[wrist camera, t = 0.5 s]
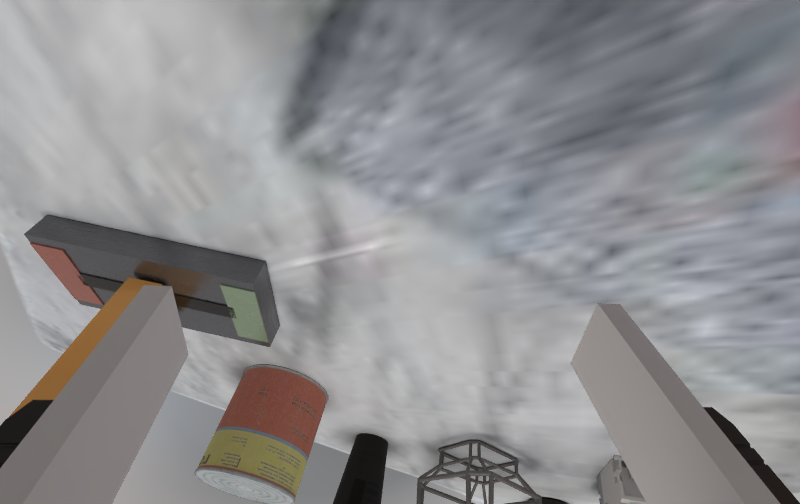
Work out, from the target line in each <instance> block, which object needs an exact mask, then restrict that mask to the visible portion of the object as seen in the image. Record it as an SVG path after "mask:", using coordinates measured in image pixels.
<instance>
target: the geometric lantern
mask: <svg viewBox="0 0 800 504" xmlns="http://www.w3.org/2000/svg"><path fill="white" fill-rule="evenodd" d="M472 443H478V456H472ZM466 444H469V457H468V458H464V459H460V460H459V459H456V458H454V457H452V456H450V455H448V454H445V453H443V452H442V451H444V450H448V449H452V448H455V447H459V446H462V445H466ZM480 445H482V446H484V447H487V448H489V449H491V450H493V451H495V452H497V453H499V454H501V455H503V456H505V457H507V458H509V459H511V460H514V462H511V463H507V464H502V465H497V464H495V463H492V462H490V461H488V460H486V459H483V458H481V452H480ZM439 452H440V457H439V465H437V466H436V467H434V468H433V469H431V470H429V471H428V472H426V473H425V474H423V475H422V476H420V477H419V478H418V483H417V504H423V501H424V500H423V499H424V490H425V491H428V492H431V493H433V494H436V495H439V496H441V497H444V498H446V499H449V500H452V501H454V502H457V503H460V504H474V503H471V499H472V496H473V494H474V491H475V489H476V487H477V484H478V483H479V484H482V489H483V497H484V504H487V500H486V492H485V485H487V484H489V504H493V498H494V483H495V482H500V481H501V482H503V483H505V484H507V485H509V486H511V487H513V488H515V489H518V490H520V491H522V492H524V493H526V494H528V495H530V496H532V498H533V499H534V500H531V501H523V502H514V503H506V504H542V497H541V496H540V495H538V494H536V493H535V492H534V491H533V490H532V488H531V487H530V486H529V485H528V484H527V483H526V482H525V481H524V480H523V478H522V477H521V476H520V475H519V474H518V461H517V459H516V458H514V457H512V456H510V455H508V454H506V453H504V452H502V451H499V450H497V449H495V448H493V447H491V446H489V445H487V444H485V443H483V442H481V441H479V440H469V441H465V442H462V443H458V444H455V445H451V446H448V447H444V448H441V449H439ZM444 456H445V457H448V458H450V459H452V460H454V461H452V462H447V463H443V461H444ZM473 459H478V460H479V462H480V463H481V465H482V466H483V468H478V467H474V466H472V465H471V463H472V461H473ZM465 461H469V463H468V464H467V463H465ZM484 462H485V463H487V464H490V465H492V467H488V468H487V467H486V465H485V464H484ZM456 463H461V464H463V465H465V466H467V468H466V471H460V472H452V471H449V470H447V469H444V468H443V466H448V465H452V464H456ZM512 465H515V472H513V471H511V470H508V469H506V468H504V467H507V466H512ZM470 468H472V469H474V470H476V471H469V469H470ZM497 468H499V469H501V470H503V471H506V472H508V473H510V474H512V476H508V477H502V476H500V475H498V474H496V473H494V472H492V471H489V470H492V469H497ZM436 469H437V470H436ZM435 470H436V471H435ZM440 470H441V471H444V472H446V473H447V474H440V475H436V474H437V473H438V472H439V471H440ZM479 470H480V471H479ZM433 471H435V472H434V473H433V474H432V475H431V476H427V475H429V474H430V473H432V472H433ZM426 476H427V477H426ZM470 476H476V479H475V480H474V479H472V478H471V477H470ZM478 476H483V482H482V481H478ZM486 476H489V481H486ZM453 477H460V478H463V479H466V501H463V500H460V499H458V498H456V497H453V496H450V495H448V494H445V493H443V492H440V491H437V490H435V489H432V488H430V487H427V486H426V485H427V484H428V482H430V481H432V480H439V479H446V478H453ZM494 478H495V480H494ZM513 478H517V479H518V480H519V481H520V482H521V484H522V485H523V486H524V487H525V488H524V487H522V486H520V485H518V484H516V483H514V482H512V481H510V480H509V479H513ZM425 481H426V482H425ZM471 481H472V482H474V483H475V484H474V487H473V489H472V492H471ZM422 482H425V483H424V484H423V483H422Z"/></svg>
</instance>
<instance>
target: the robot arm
mask: <svg viewBox="0 0 800 504" xmlns="http://www.w3.org/2000/svg"><path fill="white" fill-rule="evenodd" d="M187 356H188V350H187V346H186V342H185V338H184V334H183V330H182V326H181V322H180V318H179V314H178V310H177V305H176V301H175V297H174V293H173V289H172V286H154V285H144V286H143V287H142V288H141V290H140V291H139V292H138V293H137V295H136V296H135V297H134V299H133V300H132V301H131V302H130V304H129V305H128V306H127V307H126V309H125V310H124V311H123V313H122V314H121V315H120V316H119V318H118V319H117V320H116V321H115V323H114V324H113V325H112V327H111V328H110V329H109V330H108V332H107V333H106V334H105V335H104V337H103V338H102V339H101V341H100V342H99V343H98V344H97V346H96V347H95V348H94V350H93V351H92V352H91V353H90V355H89V356H88V357H87V358H86V360H85V361H84V362H83V364H82V365H81V366H80V367H79V369H78V370H77V371H76V372H75V374H74V375H73V376H72V378H71V379H70V380H69V381H68V383H67V384H66V385H65V386H64V388H63V389H62V390H61V392H60V393H59V394H58V395H57V397H56V398H55V399H54V400H32V401H31V402H29V403H28V404H26V405H25V406H24V407H22V408H21V409H20V410H18V411H17V412H15V413H14V414H13V415H11V416H10V417H9V418H7V419H6V420H5V421H4V422H3V423H2V425H1V426H0V504H112V503H113V501H114V499H115V497H116V495H117V493H118V491H119V489H120V487H121V485H122V483H123V481H124V479H125V477H126V475H127V473H128V471H129V469H130V467H131V465H132V463H133V461H134V460H135V457H136V456H137V454H138V452H139V450H140V448H141V446H142V444H143V442H144V440H145V438H146V436H147V434H148V432H149V430H150V428H151V426H152V424H153V422H154V420H155V418H156V416H157V414H158V412H159V410H160V408H161V406H162V405H163V403H164V401H165V399H166V397H167V395H168V393H169V391H170V389H171V387H172V385H173V383H174V381H175V379H176V377H177V375H178V373H179V371H180V369H181V367H182V365H183V363H184V362H185V360H186V358H187ZM571 364H572V366H573V368H574V370H575V372H576V374H577V376H578V377H579V379H580V381H581V383H582V385H583V387H584V388H585V390H586V392H587V394H588V396H589V398H590V400H591V401H592V403H593V405H594V407H595V409H596V411H597V412H598V414H599V416H600V418H601V420H602V422H603V424H604V425H605V427H606V429H607V431H608V433H609V435H610V436H611V438H612V440H613V442H614V444H615V446H616V448H617V449H618V451H619V453H620V455H621V457H622V459H623V460H624V462H625V464H626V466H627V468H628V470H629V471H630V473H631V475H632V477H633V479H634V481H635V483H636V484H637V486H638V488H639V490H640V492H641V494H642V495H643V497H644V499H645V501H646V503H647V504H800V503H799V502H798V500H797V499H796V498H795V497H794V496H793V494H792V493H791V492H790V491H789V490H788V489H787V487H786V486H785V485H784V484H783V483H782V481H781V480H780V479H779V478H778V477H777V476H776V474H775V473H774V472H773V471H772V470H771V468H770V467H769V466H768V465H765V464H764V460H763V459H762V458H761V457H760V455H759V454H758V453H757V452H756V451H755V449H754V448H751V447H750V443H749V442H748V441H747V440H746V439H745V438H744V436H743V435H742V434H741V433H740V432H739V430H738V429H737V428H736V427H735V426H734V425H733V424H732V423H731V422H730V421H728V420H727V419H726V418H725V417H723V416H722V415H721V414H720V413H718V412H717V411H716V410H715V409H713V408H712V407H702V406H701V404H700V403H699V402H698V401H697V399H696V398H695V397H694V396H693V394H692V393H691V392H690V391H689V389H688V388H687V387H686V386H685V384H684V383H683V382H682V381H681V379H680V378H679V377H678V376H677V375H676V373H675V372H674V371H673V370H672V368H671V367H670V366H669V365H668V363H667V362H666V361H665V360H664V358H663V357H662V356H661V355H660V353H659V352H658V351H657V350H656V348H655V347H654V346H653V345H652V343H651V342H650V341H649V340H648V338H647V337H646V336H645V335H644V333H643V332H642V331H641V330H640V329H639V327H638V326H637V325H636V324H635V322H634V321H633V320H632V319H631V317H630V316H629V315H628V314H627V312H626V311H625V310H624V309H623V307H622V306H621V305H620V304H604V303H598V304H597V306H596V308H595V310H594V313H593V315H592V317H591V319H590V321H589V324H588V326H587V328H586V330H585V333H584V335H583V337H582V339H581V342H580V344H579V346H578V348H577V351H576V353H575V355H574V357H573V359H572V362H571Z"/></svg>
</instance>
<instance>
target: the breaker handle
mask: <svg viewBox="0 0 800 504" xmlns="http://www.w3.org/2000/svg"><path fill="white" fill-rule="evenodd" d="M144 285H154V286H162V284H158V283H154V282H149V281H145V280H140V279H136V278H131V277H128V278H127V280H126V281H125V282H124V283H123V284H122V285H121V287H120V288H119V289H118V290H117V291H116V292H115V294H114V295H113V296H112V297H111V298H110V299H109V301H108V302H107V303H106V304H105V305H104V307H103V308H102V309H101V310H100V311H99V312H98V314H97V315H96V316H95V317H94V318H93V319H92V321H91V322H90V323H89V324H88V325H87V326H86V328H85V329H84V330H83V331H82V332H81V333H80V335H79V336H78V337H77V338H76V339H75V340H74V342H73V343H72V344H71V345H70V346H69V347H68V349H67V350H66V351H65V352H64V353H63V354H62V356H61V357H60V358H59V359H58V361H57V362H56V363H55V364H54V365H53V366H52V367H51V369H50V370H49V371H48V372H47V373H46V374H45V376H44V377H43V378H42V379H41V380H40V381H39V383H38V384H37V385H36V386H35V387H34V388H33V390H32V391H31V392H30V393H29V394H28V396H27V397H26V398H25V399H24V400H23V401H22V402H21V404H20V405H19V406H18V407H17V408H16V409H15V411H14V412H13V413H12V414H11V415H13V414H14V413H15V412H17V411H18V410H20V409H21V408H22V407H24V406H25V405H26V404H28V403H29V402H31V401H32V400H54V399H55V398H56V397H57V395H58V394H59V393H60V392H61V390H62V389H63V388H64V386H65V385H66V384H67V383H68V381H69V380H70V379H71V378H72V376H73V375H74V374H75V372H76V371H77V370H78V369H79V367H80V366H81V365H82V364H83V362H84V361H85V360H86V358H87V357H88V356H89V355H90V353H91V352H92V351H93V350H94V348H95V347H96V346H97V344H98V343H99V342H100V341H101V339H102V338H103V337H104V335H105V334H106V333H107V332H108V330H109V329H110V328H111V327H112V325H113V324H114V323H115V321H116V320H117V319H118V318H119V316H120V315H121V314H122V313H123V311H124V310H125V309H126V307H127V306H128V305H129V304H130V302H131V301H132V300H133V299H134V297H135V296H136V295H137V293H138V292H139V291H140V290H141V288H142V287H143V286H144ZM11 415H10V416H11Z"/></svg>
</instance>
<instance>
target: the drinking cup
mask: <svg viewBox="0 0 800 504" xmlns="http://www.w3.org/2000/svg"><path fill="white" fill-rule="evenodd" d="M387 447H388V443H387V441H386V440H384V439H383V438H381V437H378V436H375V435H371V434H359V435H357V437H356V439H355V442H354V445H353V448H352V451H351V454H350V456H349V459H348V462H347V465H346V468H345V471H344V473H343V477H342V479H341V482H340V485H339V488H338V491H337V493H336V497H335V499H334V502H333V504H381V497H382V488H383V480H384V471H385V464H386V455H387Z"/></svg>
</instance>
